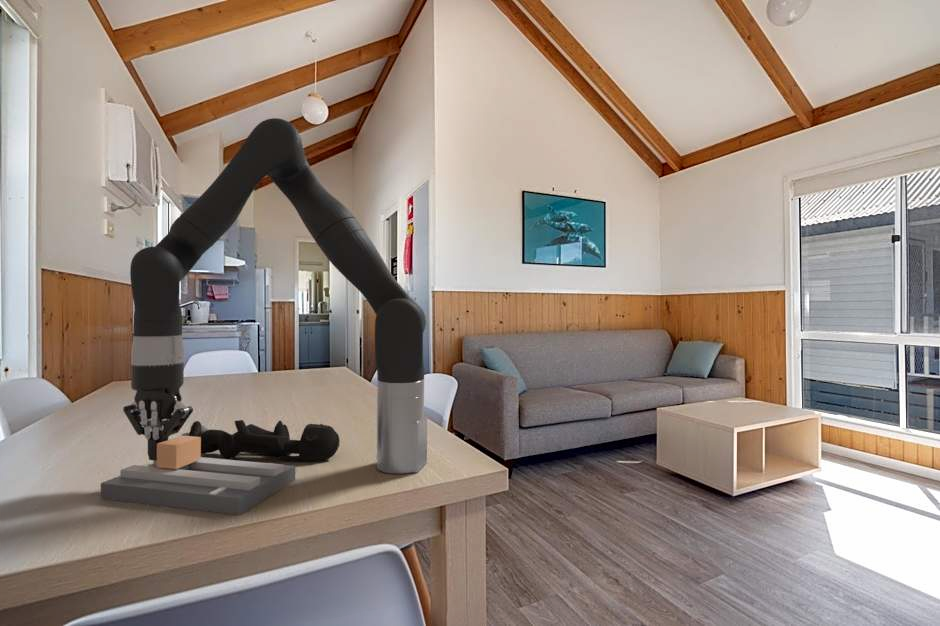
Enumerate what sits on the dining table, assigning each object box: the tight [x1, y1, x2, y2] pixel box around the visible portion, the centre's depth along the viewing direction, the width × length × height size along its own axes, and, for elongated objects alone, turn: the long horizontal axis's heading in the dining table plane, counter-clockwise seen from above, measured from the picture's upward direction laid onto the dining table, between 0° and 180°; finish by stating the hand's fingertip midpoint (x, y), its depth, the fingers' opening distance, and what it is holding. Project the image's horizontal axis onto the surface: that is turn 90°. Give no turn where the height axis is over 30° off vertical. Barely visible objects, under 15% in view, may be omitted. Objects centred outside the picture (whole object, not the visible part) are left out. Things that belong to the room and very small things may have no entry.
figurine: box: [188, 419, 341, 463], centre depth 90 cm, size 8×30×8 cm, turn 85°
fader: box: [157, 435, 202, 470], centre depth 75 cm, size 4×5×5 cm
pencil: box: [189, 424, 209, 432], centre depth 105 cm, size 11×3×3 cm, turn 45°
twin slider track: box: [100, 456, 296, 516], centre depth 74 cm, size 26×14×4 cm, turn 78°
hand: (157, 458), depth 77 cm, fingers closed
